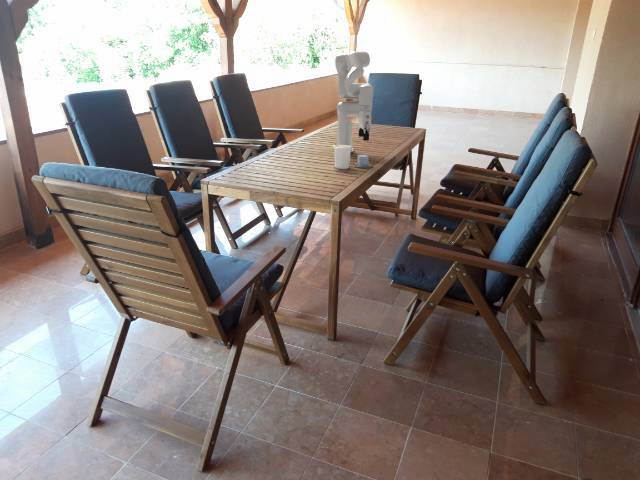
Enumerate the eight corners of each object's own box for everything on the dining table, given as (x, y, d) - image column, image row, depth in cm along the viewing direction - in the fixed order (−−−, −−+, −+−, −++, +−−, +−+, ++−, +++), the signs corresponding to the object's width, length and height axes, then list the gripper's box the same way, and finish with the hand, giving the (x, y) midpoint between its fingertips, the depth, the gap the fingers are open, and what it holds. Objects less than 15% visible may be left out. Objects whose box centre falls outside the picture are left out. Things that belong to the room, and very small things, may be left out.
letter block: (365, 163, 283) (365, 154, 281) (368, 165, 278) (368, 156, 276) (357, 163, 282) (357, 155, 280) (359, 165, 277) (359, 156, 275)
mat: (353, 163, 284) (353, 162, 283) (367, 163, 285) (367, 162, 285) (357, 167, 275) (357, 166, 274) (372, 167, 276) (372, 166, 276)
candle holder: (336, 169, 270) (336, 148, 266) (331, 165, 279) (331, 145, 274) (352, 168, 273) (353, 147, 268) (347, 164, 281) (347, 144, 277)
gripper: (376, 110, 260) (374, 141, 267) (367, 105, 276) (365, 135, 283) (363, 110, 259) (361, 142, 266) (354, 105, 274) (353, 135, 282)
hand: (363, 138), depth 275 cm, fingers open, 9 cm apart
